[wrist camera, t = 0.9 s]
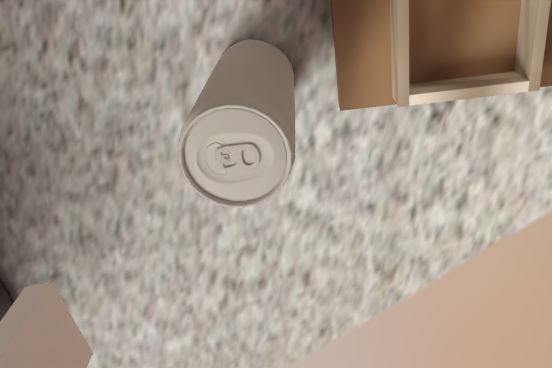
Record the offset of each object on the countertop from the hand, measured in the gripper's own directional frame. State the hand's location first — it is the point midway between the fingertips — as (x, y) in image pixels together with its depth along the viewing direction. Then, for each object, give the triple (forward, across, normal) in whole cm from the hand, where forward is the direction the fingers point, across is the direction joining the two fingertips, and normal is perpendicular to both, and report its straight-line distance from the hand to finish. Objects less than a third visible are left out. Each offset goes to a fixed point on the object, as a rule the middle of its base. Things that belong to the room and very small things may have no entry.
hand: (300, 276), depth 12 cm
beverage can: (+20, -2, 0) cm, 20 cm away
